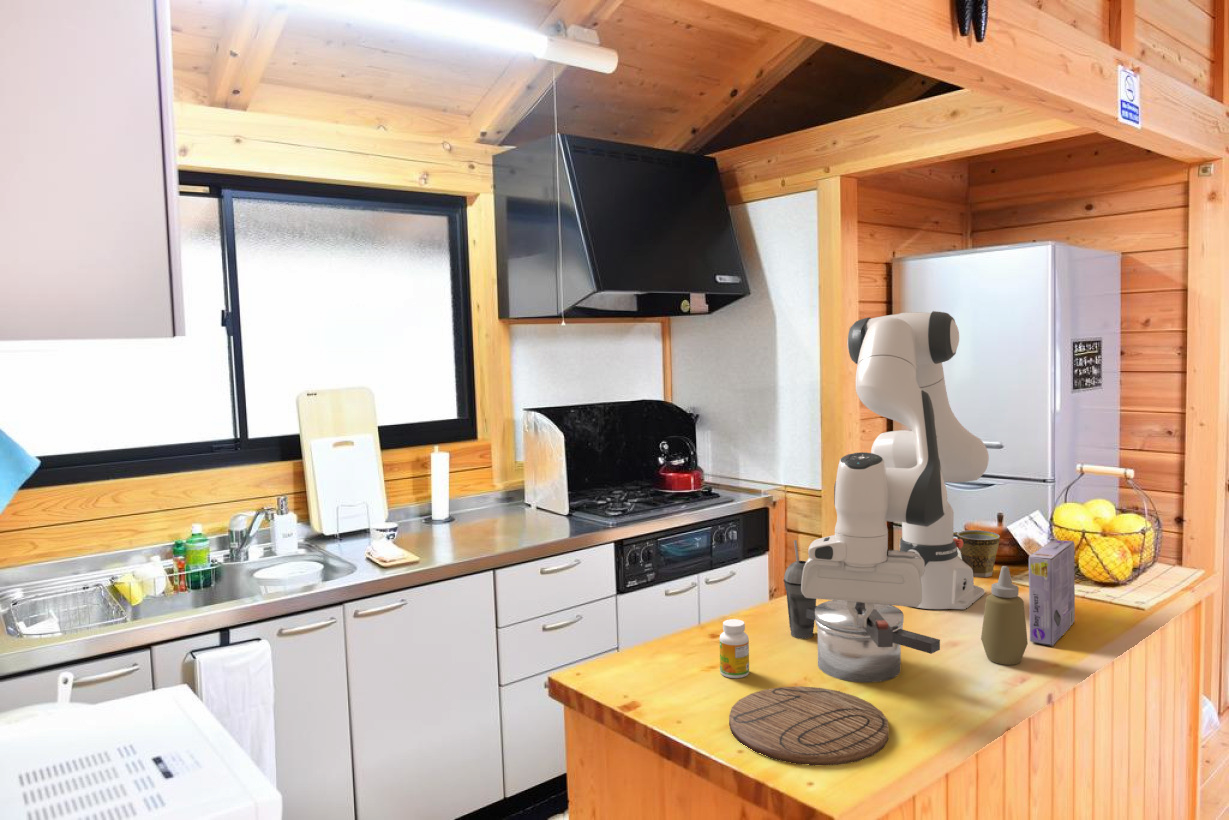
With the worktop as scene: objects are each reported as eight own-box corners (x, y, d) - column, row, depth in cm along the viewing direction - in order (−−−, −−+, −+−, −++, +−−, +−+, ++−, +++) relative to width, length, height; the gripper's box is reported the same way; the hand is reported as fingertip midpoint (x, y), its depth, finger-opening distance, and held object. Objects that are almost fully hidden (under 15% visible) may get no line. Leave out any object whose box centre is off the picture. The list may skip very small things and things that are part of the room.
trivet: (697, 726, 146) (697, 715, 146) (798, 684, 161) (798, 674, 161) (818, 786, 127) (818, 773, 126) (921, 732, 142) (921, 721, 142)
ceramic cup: (1007, 575, 223) (1008, 535, 222) (981, 581, 218) (982, 541, 217) (964, 563, 234) (964, 526, 233) (938, 569, 229) (938, 531, 228)
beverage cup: (820, 641, 181) (819, 545, 179) (783, 640, 183) (782, 544, 181) (819, 629, 189) (818, 536, 187) (784, 628, 190) (783, 535, 188)
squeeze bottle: (991, 648, 175) (992, 558, 173) (1034, 659, 169) (1035, 566, 167) (973, 660, 169) (974, 567, 167) (1017, 671, 164) (1018, 575, 162)
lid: (889, 603, 175) (889, 579, 174) (933, 653, 149) (933, 625, 149) (807, 605, 175) (807, 581, 175) (837, 654, 150) (837, 627, 149)
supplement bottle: (714, 670, 168) (713, 620, 167) (739, 665, 170) (738, 616, 169) (729, 681, 163) (728, 629, 162) (754, 675, 165) (754, 624, 164)
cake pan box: (1051, 616, 192) (1053, 536, 190) (1077, 621, 189) (1079, 539, 187) (1026, 643, 177) (1027, 556, 176) (1053, 648, 174) (1055, 559, 172)
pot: (835, 640, 182) (835, 597, 181) (958, 678, 161) (959, 630, 160) (785, 661, 171) (785, 615, 171) (910, 704, 151) (910, 653, 150)
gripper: (925, 547, 154) (924, 626, 155) (804, 540, 161) (804, 615, 162) (924, 556, 148) (923, 638, 149) (799, 548, 155) (799, 626, 156)
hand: (860, 626), depth 156 cm, fingers closed
